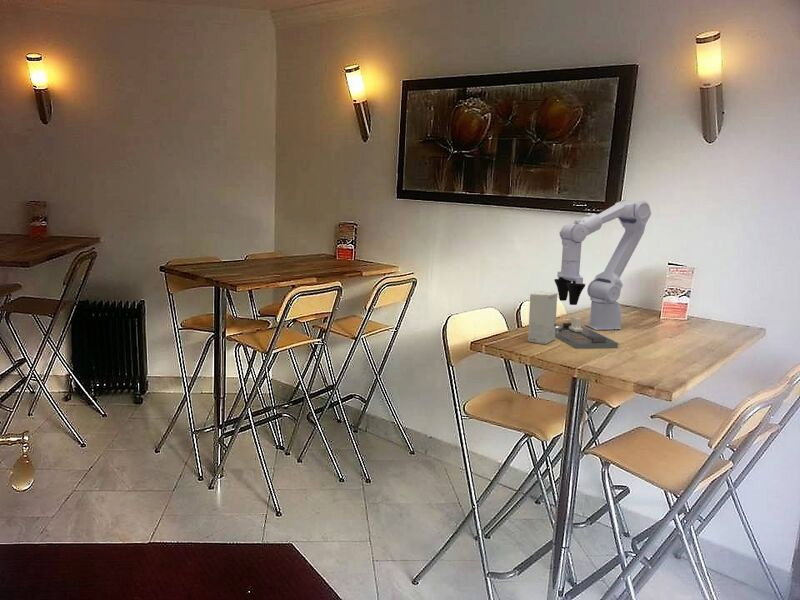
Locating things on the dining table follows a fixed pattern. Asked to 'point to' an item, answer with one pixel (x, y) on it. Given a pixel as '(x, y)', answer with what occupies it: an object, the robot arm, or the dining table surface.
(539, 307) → the skincare box
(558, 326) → the console
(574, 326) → the block
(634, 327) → the dining table surface
